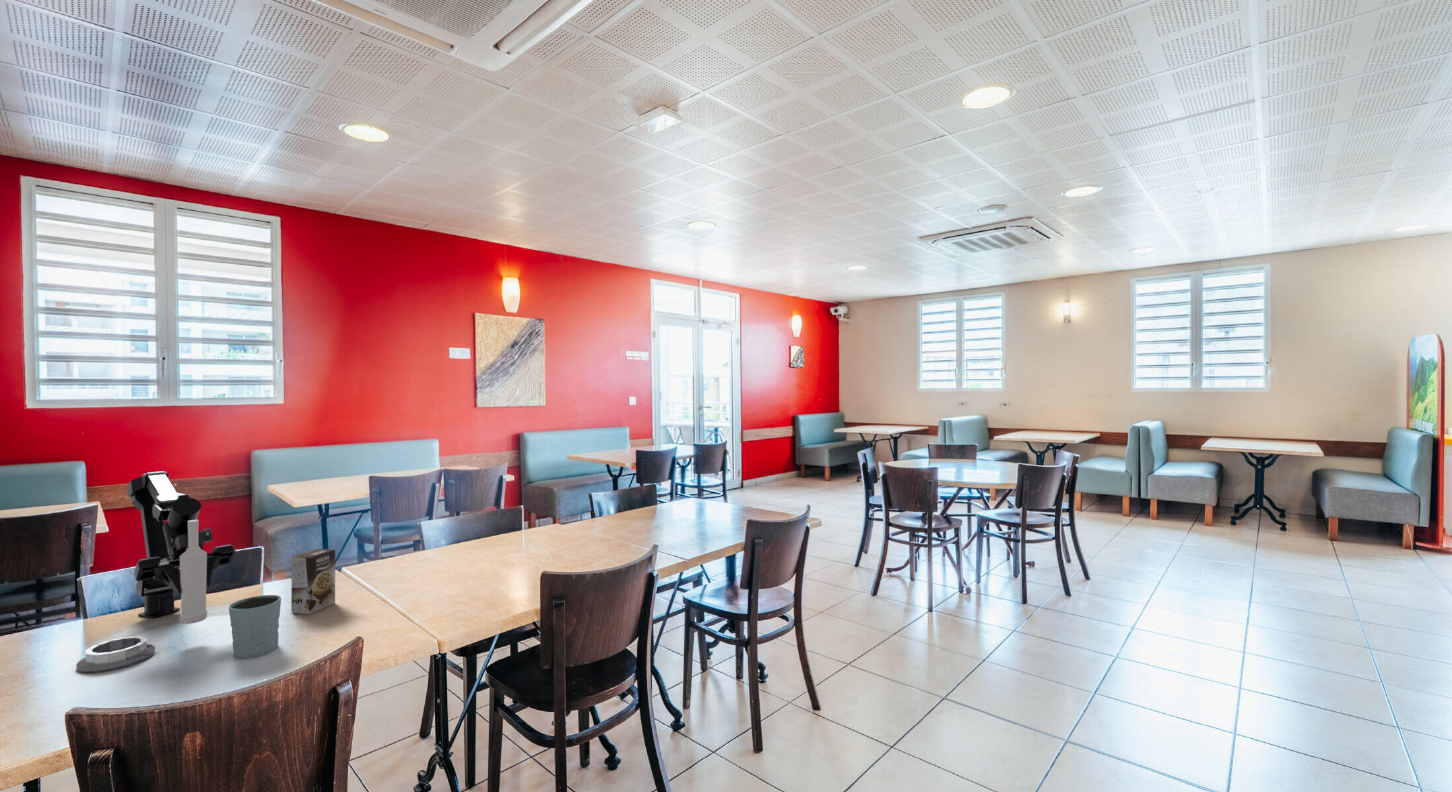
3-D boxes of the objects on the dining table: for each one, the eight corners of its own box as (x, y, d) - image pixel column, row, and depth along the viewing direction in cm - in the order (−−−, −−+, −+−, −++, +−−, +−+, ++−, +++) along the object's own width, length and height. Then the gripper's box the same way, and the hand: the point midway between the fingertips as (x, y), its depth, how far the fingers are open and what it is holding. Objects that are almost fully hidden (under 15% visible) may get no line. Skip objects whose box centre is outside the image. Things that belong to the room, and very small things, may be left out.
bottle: (176, 625, 149) (175, 523, 148) (184, 618, 153) (183, 519, 153) (204, 622, 151) (203, 521, 150) (210, 614, 156) (209, 517, 155)
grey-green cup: (239, 663, 141) (239, 612, 141) (221, 653, 146) (221, 603, 146) (289, 647, 150) (288, 599, 149) (270, 638, 155) (270, 591, 155)
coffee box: (309, 614, 171) (309, 557, 170) (290, 612, 172) (290, 556, 172) (336, 603, 180) (336, 549, 179) (318, 601, 181) (317, 547, 181)
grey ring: (61, 669, 138) (60, 654, 137) (129, 645, 150) (129, 631, 150) (103, 676, 135) (103, 660, 134) (169, 651, 147) (169, 636, 147)
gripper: (136, 527, 147) (149, 581, 141) (232, 513, 162) (247, 562, 156) (129, 553, 152) (140, 607, 146) (223, 538, 167) (237, 586, 161)
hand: (194, 590), depth 152 cm, fingers closed on bottle, 5 cm apart
